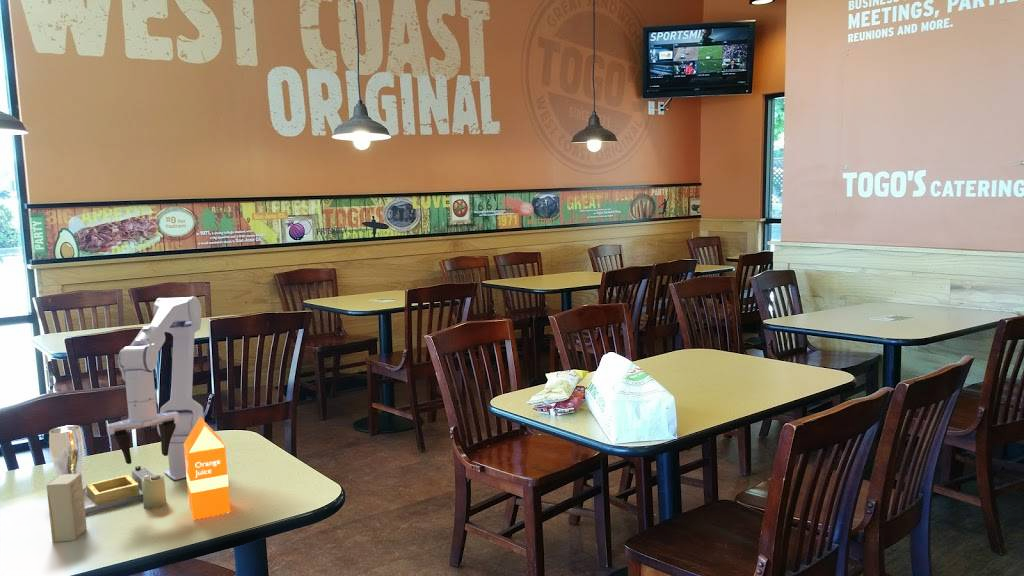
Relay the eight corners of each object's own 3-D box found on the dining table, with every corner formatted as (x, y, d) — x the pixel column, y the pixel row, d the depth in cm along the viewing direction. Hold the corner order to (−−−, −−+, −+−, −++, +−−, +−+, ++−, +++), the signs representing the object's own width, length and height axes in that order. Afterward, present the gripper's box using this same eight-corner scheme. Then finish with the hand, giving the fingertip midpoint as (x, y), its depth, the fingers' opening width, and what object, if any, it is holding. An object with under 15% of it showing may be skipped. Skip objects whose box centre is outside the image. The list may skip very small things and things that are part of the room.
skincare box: (66, 530, 167) (59, 473, 165) (88, 528, 167) (82, 472, 166) (51, 543, 160) (44, 484, 159) (74, 541, 161) (68, 483, 159)
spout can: (162, 499, 182) (160, 469, 181) (169, 504, 179) (166, 474, 178) (141, 505, 179) (138, 474, 178) (147, 510, 176) (144, 479, 175)
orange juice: (192, 520, 169) (184, 428, 167) (188, 507, 177) (180, 419, 175) (231, 512, 173) (224, 422, 170) (225, 499, 180) (218, 413, 178)
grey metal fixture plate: (147, 482, 194) (145, 464, 193) (162, 495, 185) (160, 476, 184) (64, 502, 182) (62, 483, 182) (75, 517, 173) (73, 497, 173)
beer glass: (73, 496, 186) (66, 433, 185) (47, 495, 188) (40, 433, 186) (94, 485, 193) (88, 425, 191) (69, 484, 195) (63, 424, 193)
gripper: (110, 408, 169) (116, 470, 171) (180, 396, 178) (186, 455, 180) (102, 403, 175) (108, 463, 176) (171, 391, 184) (176, 448, 185)
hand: (147, 458), depth 178 cm, fingers open, 7 cm apart
